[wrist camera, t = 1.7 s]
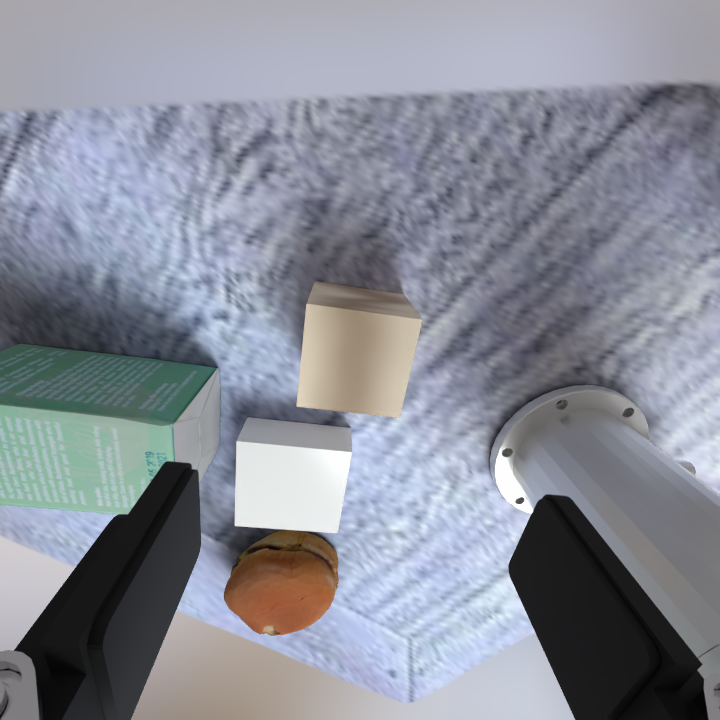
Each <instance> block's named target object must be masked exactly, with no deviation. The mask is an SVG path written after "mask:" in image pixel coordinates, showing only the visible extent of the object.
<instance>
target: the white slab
mask: <svg viewBox="0 0 720 720" xmlns="http://www.w3.org/2000/svg"><path fill="white" fill-rule="evenodd" d="M351 455H352V440H351V428H347V427H338V426H328V425H318V424H308V423H299V422H289V421H279V420H270V419H260V418H250V417H247V419H246V421H245V423H244V426H243V428H242V430H241V432H240V434H239V437H238V439H237V441H236V487H235V526H242V527H256V528H270V529H284V530H298V531H312V532H326V533H338V528H339V522H340V516H341V511H342V505H343V500H344V494H345V489H346V483H347V477H348V472H349V466H350V461H351Z"/></svg>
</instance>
